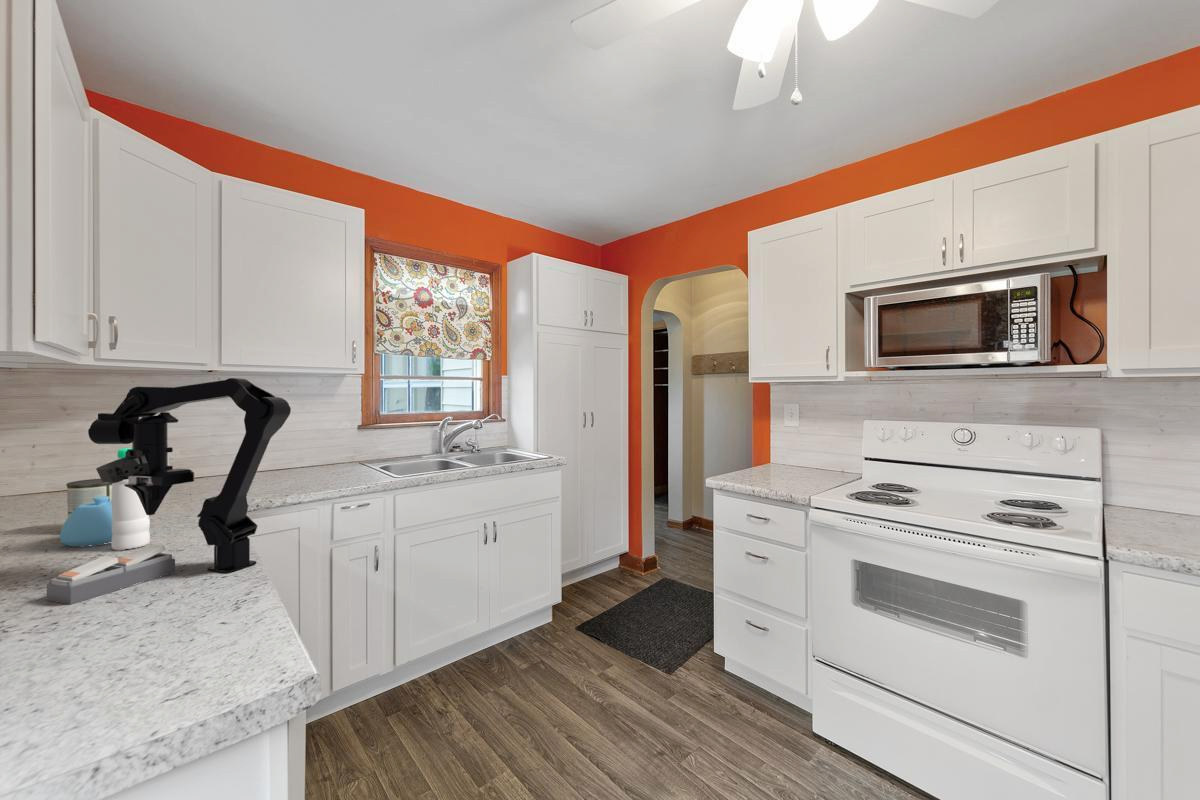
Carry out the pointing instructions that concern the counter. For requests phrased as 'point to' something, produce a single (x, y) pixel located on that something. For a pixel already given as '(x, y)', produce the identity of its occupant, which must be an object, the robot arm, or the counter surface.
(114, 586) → the rocker switch panel
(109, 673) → the counter surface
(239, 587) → the counter surface
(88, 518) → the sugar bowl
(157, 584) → the counter surface
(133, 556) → the block
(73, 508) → the coffee can
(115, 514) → the white bottle
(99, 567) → the rocker
